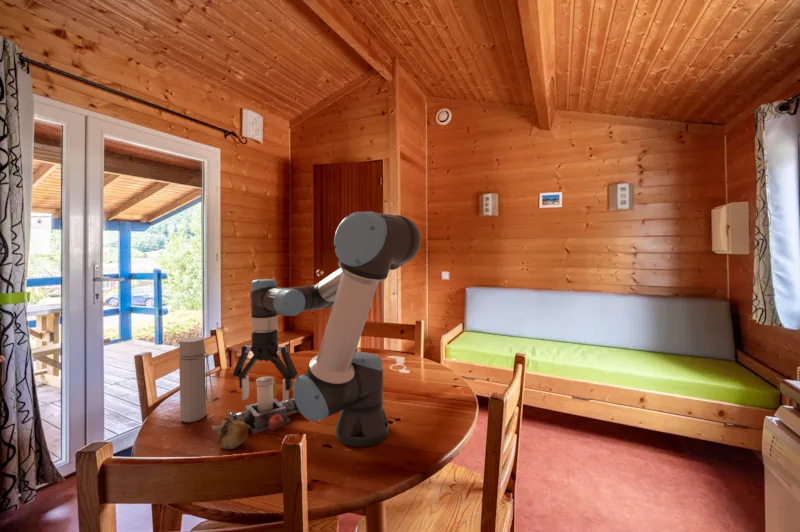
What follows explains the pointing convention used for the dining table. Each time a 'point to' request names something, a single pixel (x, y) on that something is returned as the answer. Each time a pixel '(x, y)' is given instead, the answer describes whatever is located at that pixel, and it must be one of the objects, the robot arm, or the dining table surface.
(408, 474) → the dining table surface
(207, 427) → the dining table surface
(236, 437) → the onion
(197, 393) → the water bottle
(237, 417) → the valve body
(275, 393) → the lemon
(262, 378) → the pipe stub
